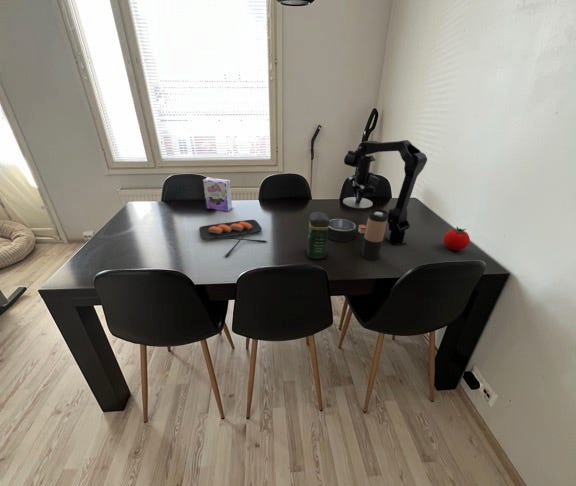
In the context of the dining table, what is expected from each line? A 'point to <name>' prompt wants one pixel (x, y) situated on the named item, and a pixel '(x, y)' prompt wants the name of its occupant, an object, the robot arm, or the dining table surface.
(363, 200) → the pan lid
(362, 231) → the sushi
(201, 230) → the sushi plate
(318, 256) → the coffee jar
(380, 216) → the travel mug
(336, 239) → the pan
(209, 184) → the candy box
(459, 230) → the tomato
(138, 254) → the dining table surface
